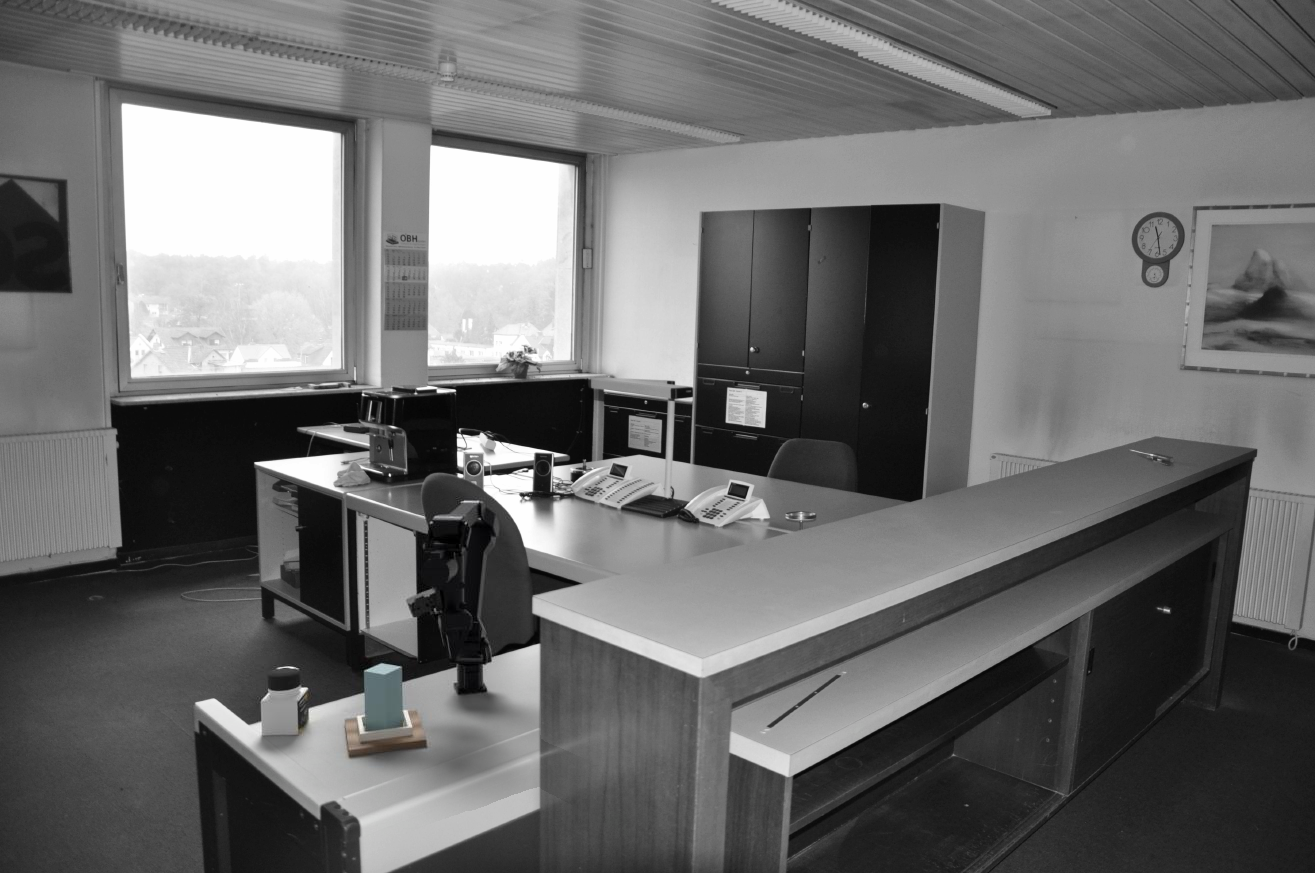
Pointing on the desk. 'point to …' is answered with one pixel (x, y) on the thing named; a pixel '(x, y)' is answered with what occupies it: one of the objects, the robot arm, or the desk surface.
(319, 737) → the desk surface
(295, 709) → the medicine bottle
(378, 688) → the pale blue tall block
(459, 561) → the robot arm
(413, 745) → the wooden tray with frame
